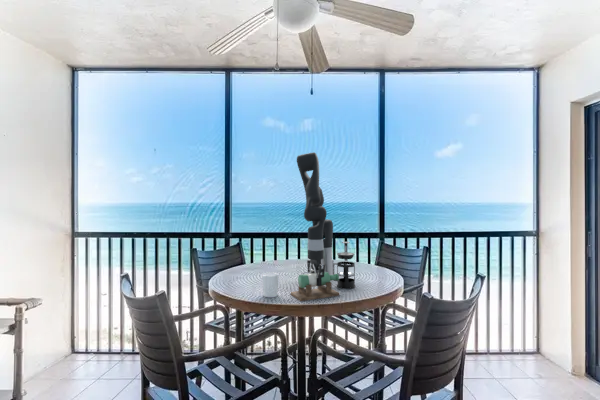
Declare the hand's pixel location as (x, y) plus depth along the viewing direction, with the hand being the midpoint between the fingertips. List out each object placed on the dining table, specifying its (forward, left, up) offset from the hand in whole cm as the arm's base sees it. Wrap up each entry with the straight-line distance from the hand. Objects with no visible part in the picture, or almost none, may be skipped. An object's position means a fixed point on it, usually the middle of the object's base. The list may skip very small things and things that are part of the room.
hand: (315, 284), depth 155 cm
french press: (-20, -7, -5) cm, 22 cm away
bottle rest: (+1, 0, -5) cm, 5 cm away
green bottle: (-2, -1, -1) cm, 2 cm away
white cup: (+20, -8, -5) cm, 22 cm away
